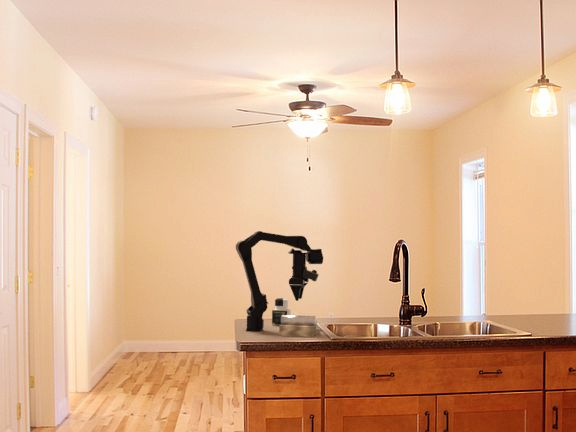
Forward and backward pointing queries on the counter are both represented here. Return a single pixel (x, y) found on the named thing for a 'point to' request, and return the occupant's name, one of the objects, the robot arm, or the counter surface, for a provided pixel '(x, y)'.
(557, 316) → the counter surface
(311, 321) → the steel axle
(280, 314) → the medicine bottle
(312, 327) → the beech v-block
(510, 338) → the counter surface
